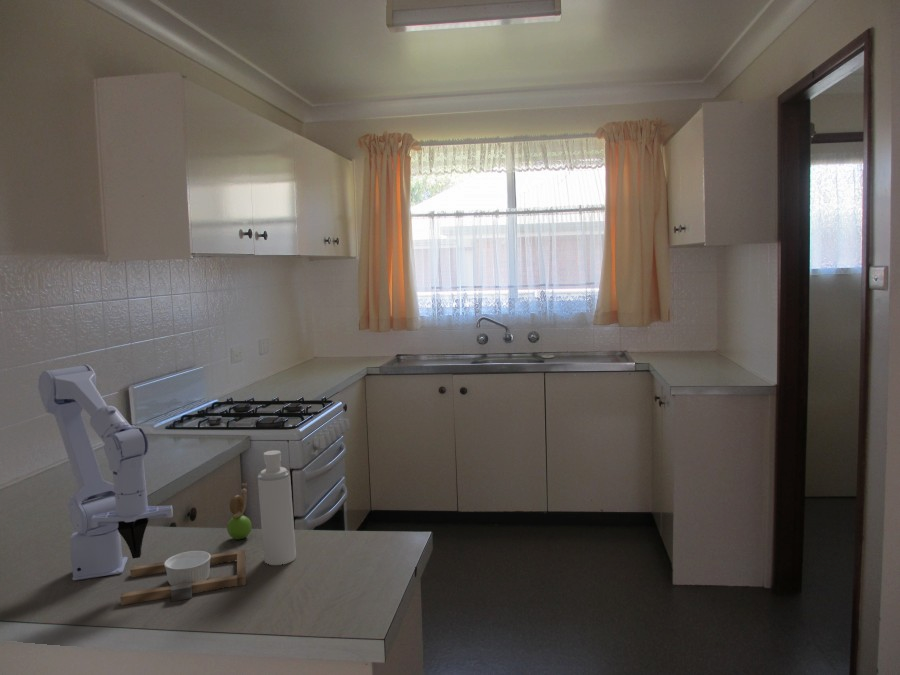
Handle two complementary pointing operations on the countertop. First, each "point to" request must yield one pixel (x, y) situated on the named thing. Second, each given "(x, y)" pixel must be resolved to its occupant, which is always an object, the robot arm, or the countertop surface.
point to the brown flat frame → (184, 588)
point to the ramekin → (188, 567)
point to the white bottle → (276, 511)
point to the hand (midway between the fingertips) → (136, 556)
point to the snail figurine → (239, 517)
